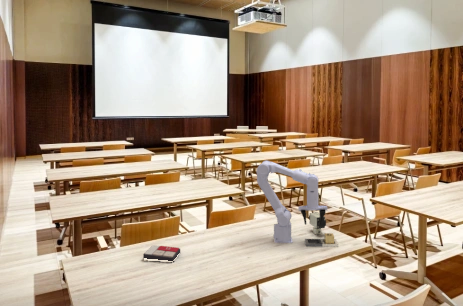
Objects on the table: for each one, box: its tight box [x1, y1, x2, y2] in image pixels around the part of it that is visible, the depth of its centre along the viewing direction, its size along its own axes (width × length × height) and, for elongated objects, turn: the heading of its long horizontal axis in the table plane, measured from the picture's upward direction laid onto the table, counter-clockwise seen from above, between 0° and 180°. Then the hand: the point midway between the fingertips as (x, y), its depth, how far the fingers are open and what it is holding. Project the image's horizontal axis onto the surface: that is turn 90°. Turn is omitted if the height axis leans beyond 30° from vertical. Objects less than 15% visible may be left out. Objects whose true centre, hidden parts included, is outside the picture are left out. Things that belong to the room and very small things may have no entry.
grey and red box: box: [142, 244, 181, 261], centre depth 181 cm, size 11×4×15 cm
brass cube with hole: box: [323, 232, 335, 244], centre depth 191 cm, size 4×4×5 cm
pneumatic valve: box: [308, 211, 327, 236], centre depth 205 cm, size 6×12×12 cm, turn 15°
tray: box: [304, 238, 339, 248], centre depth 191 cm, size 16×7×2 cm, turn 86°
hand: (312, 223), depth 192 cm, fingers open, 7 cm apart
